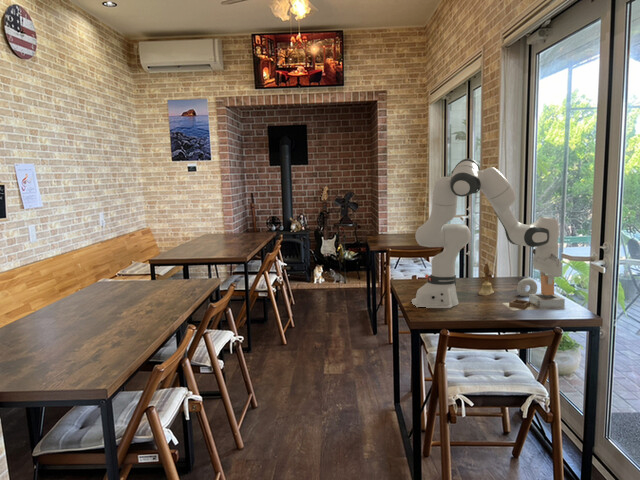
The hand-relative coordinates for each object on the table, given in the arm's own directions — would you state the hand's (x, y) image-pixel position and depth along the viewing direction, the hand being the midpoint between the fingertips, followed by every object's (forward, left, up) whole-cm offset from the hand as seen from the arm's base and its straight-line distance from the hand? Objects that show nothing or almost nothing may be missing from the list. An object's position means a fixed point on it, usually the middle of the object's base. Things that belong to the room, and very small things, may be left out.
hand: (546, 282), depth 210 cm
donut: (-1, +18, -12) cm, 22 cm away
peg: (0, 0, -5) cm, 5 cm away
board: (-6, 0, -12) cm, 13 cm away
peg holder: (-12, 0, -11) cm, 16 cm away
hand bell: (-17, +29, -12) cm, 36 cm away
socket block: (0, 0, -11) cm, 11 cm away
